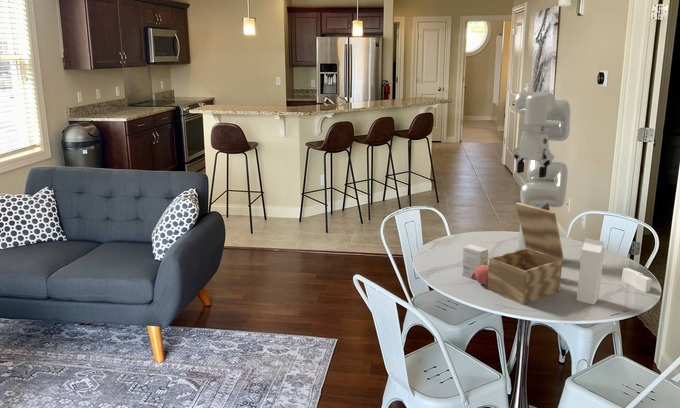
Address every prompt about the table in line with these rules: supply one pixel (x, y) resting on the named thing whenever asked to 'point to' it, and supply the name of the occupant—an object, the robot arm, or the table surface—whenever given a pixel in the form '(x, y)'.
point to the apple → (482, 274)
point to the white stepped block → (636, 279)
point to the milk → (590, 271)
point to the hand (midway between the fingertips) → (531, 174)
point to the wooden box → (524, 275)
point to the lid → (540, 229)
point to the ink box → (473, 259)
